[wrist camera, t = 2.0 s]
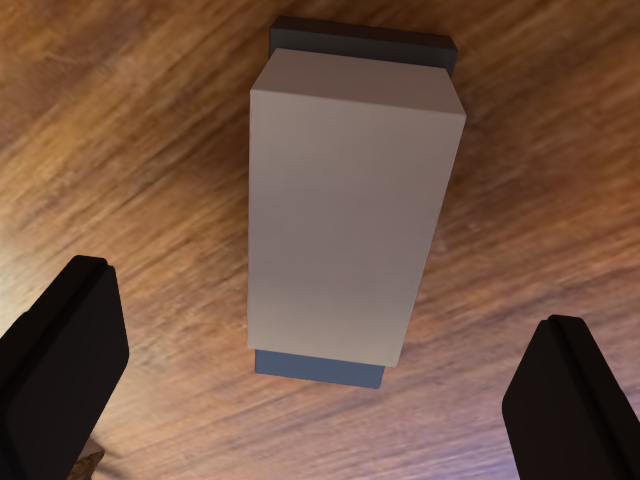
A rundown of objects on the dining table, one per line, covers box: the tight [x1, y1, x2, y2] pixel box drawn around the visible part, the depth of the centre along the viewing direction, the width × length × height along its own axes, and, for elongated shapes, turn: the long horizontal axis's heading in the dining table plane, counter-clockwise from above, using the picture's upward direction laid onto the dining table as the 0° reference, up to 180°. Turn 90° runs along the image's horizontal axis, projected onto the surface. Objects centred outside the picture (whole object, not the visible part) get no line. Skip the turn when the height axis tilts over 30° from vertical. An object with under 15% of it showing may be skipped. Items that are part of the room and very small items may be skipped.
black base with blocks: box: [247, 16, 466, 389], centre depth 15 cm, size 12×5×5 cm, turn 175°
